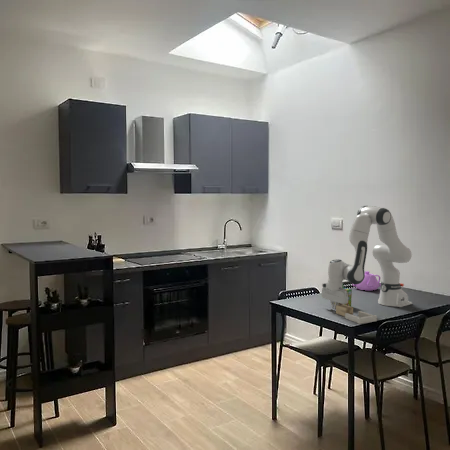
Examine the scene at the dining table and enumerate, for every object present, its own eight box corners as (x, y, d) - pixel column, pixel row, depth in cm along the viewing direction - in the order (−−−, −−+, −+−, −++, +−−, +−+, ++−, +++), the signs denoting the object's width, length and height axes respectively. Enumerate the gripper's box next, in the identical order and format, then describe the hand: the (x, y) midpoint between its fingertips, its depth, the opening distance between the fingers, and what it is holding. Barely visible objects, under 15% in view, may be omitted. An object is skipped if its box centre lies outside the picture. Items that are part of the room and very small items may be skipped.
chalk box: (345, 309, 287) (346, 285, 286) (331, 306, 293) (332, 283, 292) (351, 306, 294) (352, 283, 293) (338, 304, 300) (339, 281, 299)
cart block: (343, 312, 279) (343, 304, 279) (352, 315, 272) (353, 307, 272) (335, 313, 276) (336, 305, 276) (345, 316, 269) (345, 308, 269)
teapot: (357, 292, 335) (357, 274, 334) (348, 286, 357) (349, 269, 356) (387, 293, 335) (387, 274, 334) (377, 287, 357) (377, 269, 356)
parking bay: (361, 315, 271) (361, 310, 271) (376, 320, 261) (376, 315, 261) (344, 318, 265) (344, 313, 265) (359, 323, 254) (359, 318, 254)
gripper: (351, 288, 273) (350, 311, 274) (327, 282, 291) (327, 304, 292) (343, 289, 270) (342, 312, 271) (320, 283, 288) (319, 305, 289)
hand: (334, 308), depth 282 cm, fingers closed
